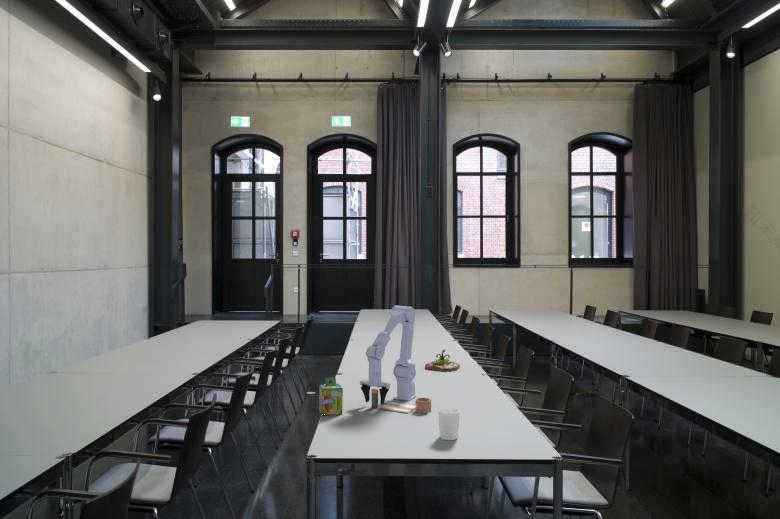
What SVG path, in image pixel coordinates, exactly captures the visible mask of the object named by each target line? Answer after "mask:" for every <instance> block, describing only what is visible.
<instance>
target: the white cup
mask: <svg viewBox="0 0 780 519" xmlns="http://www.w3.org/2000/svg"><path fill="white" fill-rule="evenodd" d="M460 412H461V411H460V409H457V408H455V407H454V408H453V407H452V408H451V407H445V408H444V407H443V408H440V409H438V426H439V428H438V429H439V438H440V439H441V440H445V441H455V440H457V439H458V437H459V428H460Z"/></svg>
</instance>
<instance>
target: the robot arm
mask: <svg viewBox="0 0 780 519" xmlns="http://www.w3.org/2000/svg"><path fill="white" fill-rule="evenodd" d="M415 318H416V311H415V309H414V308H413V307H412V306H403V305H396V304H395V305H393V307H392V308H391V311H390V317H389V319H388V321H387V323H386V325H385V327H384V330H383V331H380V332H378V334H377V336H376V337H375V339H374V341H373V342H372V344H370V345H369V346H368V347H367V348H366V351H365V356H366V357H367V362H368V380H367V379H365V380H364V379H362V380H359V386H360V390H361V392H362V393H363V397H364V399H365V400H364V401H365V403H368V402H370V392H371V387H373V388H374V387H375V388H378V392H379V395H380V396H379V398H380V399H379V400H380V402H379V403H380V405H385V402H386V397H387V394H388V393H389V390H390V388H391V383H389V382H388V383H387V382H386V381H385V382H384V381H382V359H383V357H384V356H385V351H386V347H387V345H388V344H389V341H390V340H391V334H392V332H393V331H394V330H395V328H396V327H397V326H398V324H399V323H400V324H401V326H402V329H401V338H400V339H401V341H400V352H399V359H397V360H395V361H394V362H395V363H394V364H395V365H394V367H393V370H392V373H393V375H394V377H395V380H396V396H394V397H393V400H399V401H400V400H401V401H411V400H412V399H414V398H416V397H417V394H416V384H415V382H416V381H415V377H416V372H417V371H416V363H415V362H413V360H412V354H413V351H412V350H413V339H414V332H415V331H414V329H415V328H414V327H415Z"/></svg>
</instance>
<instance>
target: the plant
mask: <svg viewBox="0 0 780 519" xmlns="http://www.w3.org/2000/svg"><path fill="white" fill-rule="evenodd" d="M444 353H446V349H442V351H441V353H438V354H436V355H435V358H434V361H430V362H428V363H425V365H424V369H425V370H427V371H435V372H444V373H447V372H453V371H458V370H460V367H461V365H460V363H457V362H455V361H450V360H451V359H450V358H451V355H450V354H445V355H444Z"/></svg>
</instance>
